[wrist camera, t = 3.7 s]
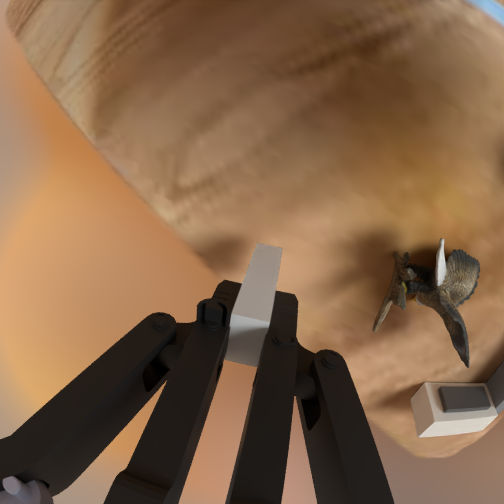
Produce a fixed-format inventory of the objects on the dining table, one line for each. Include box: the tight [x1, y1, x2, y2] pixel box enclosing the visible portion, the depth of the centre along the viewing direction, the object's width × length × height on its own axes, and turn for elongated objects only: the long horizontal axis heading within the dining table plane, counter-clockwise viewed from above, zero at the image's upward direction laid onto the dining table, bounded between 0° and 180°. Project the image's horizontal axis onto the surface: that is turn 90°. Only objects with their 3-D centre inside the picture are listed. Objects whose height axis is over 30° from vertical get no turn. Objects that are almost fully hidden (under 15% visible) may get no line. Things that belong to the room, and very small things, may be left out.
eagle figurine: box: [373, 238, 480, 368], centre depth 16 cm, size 8×7×9 cm
